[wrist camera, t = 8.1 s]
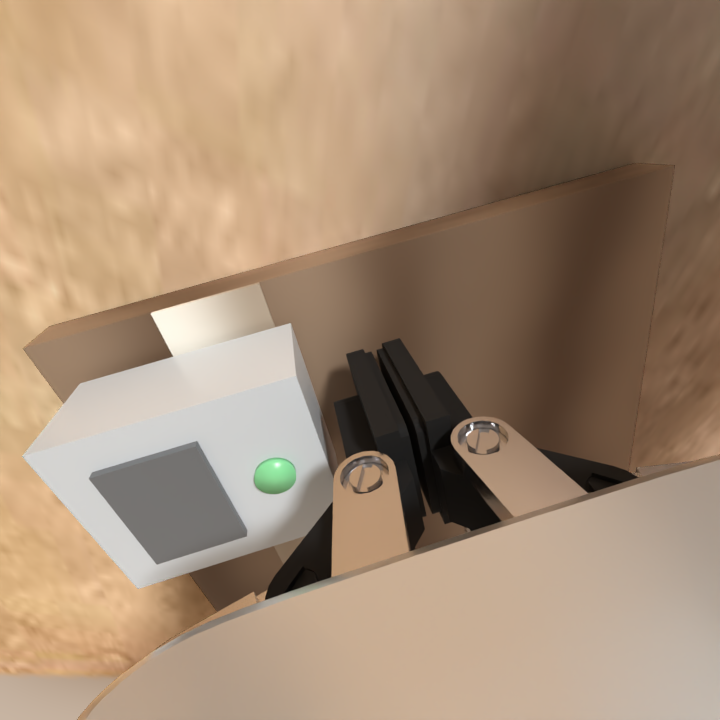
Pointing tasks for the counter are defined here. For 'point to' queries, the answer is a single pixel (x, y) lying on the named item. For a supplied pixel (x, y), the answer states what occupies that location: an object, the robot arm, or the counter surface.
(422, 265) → the board
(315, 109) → the counter surface
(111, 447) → the white box with button
